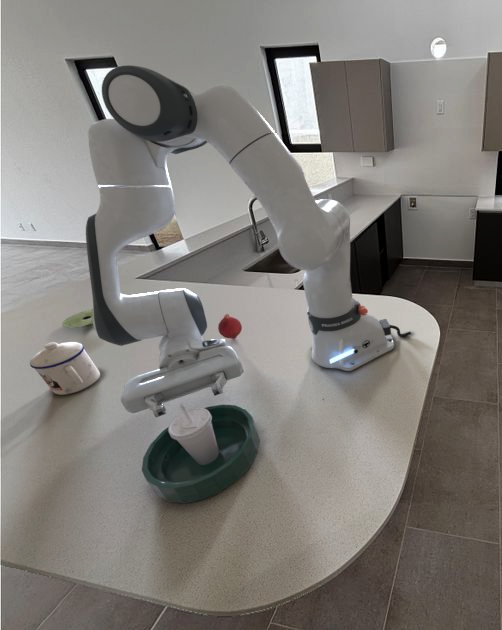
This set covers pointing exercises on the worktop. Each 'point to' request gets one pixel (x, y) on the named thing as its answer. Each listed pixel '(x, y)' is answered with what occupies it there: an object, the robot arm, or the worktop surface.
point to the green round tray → (192, 478)
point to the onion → (229, 327)
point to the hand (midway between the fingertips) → (189, 402)
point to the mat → (79, 319)
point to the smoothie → (195, 434)
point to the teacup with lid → (65, 367)
